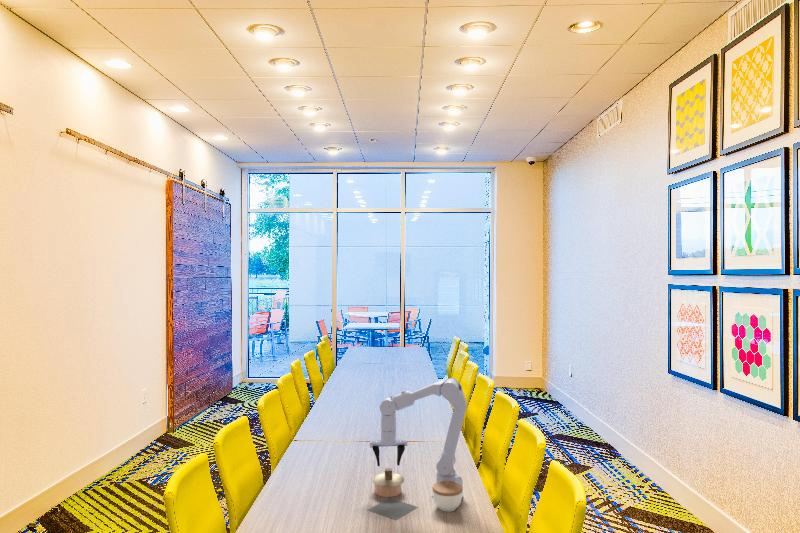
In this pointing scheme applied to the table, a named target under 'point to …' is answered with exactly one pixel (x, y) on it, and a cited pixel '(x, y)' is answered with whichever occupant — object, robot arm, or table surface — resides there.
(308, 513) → the table surface
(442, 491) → the lidded jar
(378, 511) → the mat
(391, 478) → the lid
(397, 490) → the bowl
